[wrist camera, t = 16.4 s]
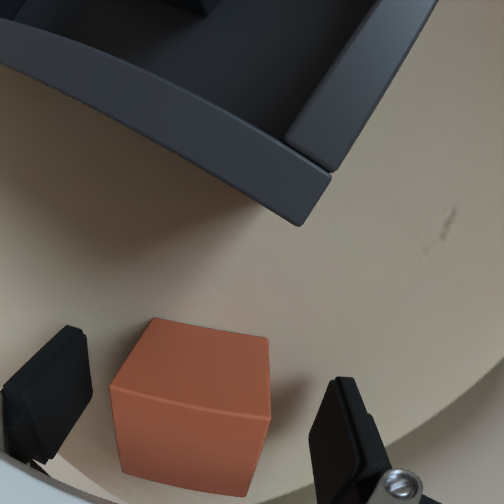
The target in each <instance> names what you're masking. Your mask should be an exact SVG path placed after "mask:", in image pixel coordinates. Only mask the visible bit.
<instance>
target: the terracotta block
mask: <svg viewBox="0 0 504 504" xmlns="http://www.w3.org/2000/svg"><path fill="white" fill-rule="evenodd" d="M109 393H110V401H111V409H112V416H113V423H114V429H115V436H116V441H117V447H118V452H119V458H120V463H121V468H122V472H123V473H126V474H129V475H132V476H136V477H139V478H143V479H147V480H150V481H154V482H158V483H162V484H167V485H171V486H175V487H180V488H185V489H190V490H195V491H201V492H207V493H213V494H220V495H227V496H235V497H246V495H247V492H248V489H249V486H250V484H251V481H252V478H253V475H254V472H255V469H256V466H257V463H258V460H259V457H260V454H261V450H262V447H263V444H264V441H265V438H266V435H267V431H268V428H269V425H270V422H271V395H270V368H269V342H268V338H265V337H258V336H251V335H245V334H239V333H233V332H227V331H221V330H215V329H210V328H204V327H199V326H194V325H188V324H183V323H178V322H173V321H169V320H164V319H159V318H153V319H152V321H151V322H150V324H149V325H148V327H147V328H146V330H145V331H144V333H143V334H142V336H141V337H140V339H139V340H138V342H137V343H136V345H135V346H134V348H133V349H132V351H131V352H130V354H129V355H128V357H127V358H126V360H125V362H124V363H123V365H122V366H121V368H120V369H119V371H118V372H117V374H116V375H115V377H114V379H113V380H112V382H111V383H110V385H109Z"/></svg>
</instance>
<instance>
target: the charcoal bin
mask: <svg viewBox="0 0 504 504" xmlns="http://www.w3.org/2000/svg"><path fill="white" fill-rule="evenodd" d="M438 1H439V0H220V1H219V3H218V4H217V5H216V6H215V7H214V9H213V10H212V11H211V12H210V14H209V15H208V16H207V17H203V16H201V15H198V14H196V13H193V12H190V11H188V10H185V9H182V8H180V7H177V6H174V5H171V4H168V3H165V2H162V1H159V0H0V64H2V65H5V66H7V67H9V68H11V69H13V70H15V71H17V72H19V73H22V74H24V75H26V76H28V77H30V78H32V79H34V80H36V81H38V82H40V83H42V84H44V85H46V86H48V87H50V88H52V89H54V90H56V91H58V92H60V93H62V94H64V95H66V96H68V97H70V98H72V99H74V100H76V101H78V102H80V103H82V104H84V105H86V106H88V107H90V108H92V109H94V110H96V111H97V112H99V113H101V114H103V115H105V116H107V117H109V118H111V119H113V120H114V121H116V122H118V123H120V124H122V125H124V126H126V127H127V128H129V129H131V130H133V131H135V132H137V133H138V134H140V135H142V136H144V137H146V138H148V139H149V140H151V141H153V142H155V143H157V144H158V145H160V146H162V147H164V148H165V149H167V150H169V151H171V152H172V153H174V154H176V155H178V156H180V157H181V158H183V159H185V160H187V161H188V162H190V163H192V164H193V165H195V166H197V167H199V168H200V169H202V170H204V171H206V172H207V173H209V174H211V175H212V176H214V177H216V178H217V179H219V180H221V181H222V182H224V183H226V184H228V185H229V186H231V187H233V188H234V189H236V190H238V191H239V192H241V193H243V194H244V195H246V196H248V197H249V198H251V199H252V200H254V201H256V202H257V203H259V204H261V205H262V206H264V207H266V208H267V209H269V210H270V211H272V212H274V213H275V214H277V215H278V216H280V217H282V218H283V219H285V220H286V221H288V222H290V223H291V224H293V225H294V226H297V227H300V226H301V225H303V224H304V222H305V220H306V219H307V217H308V216H309V214H310V213H311V211H312V210H313V208H314V207H315V205H316V203H317V202H318V200H319V199H320V197H321V196H322V194H323V192H324V191H325V189H326V188H327V186H328V185H329V183H330V181H331V178H332V176H331V175H330V173H333V172H335V171H336V170H338V168H339V166H340V165H341V163H342V162H343V160H344V158H345V157H346V155H347V154H348V152H349V150H350V149H351V147H352V146H353V144H354V142H355V141H356V139H357V138H358V136H359V134H360V133H361V131H362V129H363V128H364V126H365V125H366V123H367V121H368V120H369V118H370V116H371V115H372V113H373V111H374V110H375V108H376V107H377V105H378V103H379V102H380V100H381V98H382V97H383V95H384V93H385V92H386V90H387V88H388V87H389V85H390V83H391V82H392V80H393V78H394V77H395V75H396V73H397V72H398V70H399V68H400V67H401V65H402V63H403V61H404V60H405V58H406V56H407V55H408V53H409V51H410V50H411V48H412V46H413V44H414V43H415V41H416V39H417V37H418V36H419V34H420V32H421V31H422V29H423V27H424V25H425V24H426V22H427V20H428V18H429V17H430V15H431V13H432V11H433V9H434V8H435V6H436V4H437V2H438Z"/></svg>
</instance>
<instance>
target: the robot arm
mask: <svg viewBox="0 0 504 504" xmlns="http://www.w3.org/2000/svg"><path fill="white" fill-rule="evenodd" d="M3 387H4V388H3V389H2V390H1V391H0V504H117V503H114V502H111V501H108V500H105V499H103V498H100V497H97V496H94V495H92V494H89V493H86V492H84V491H81V490H79V489H76V488H74V487H72V486H69V485H67V484H65V483H62V482H60V481H58V480H56V479H54V478H52V477H49V476H47V475H45V474H43V473H41V472H39V471H37V470H35V469H33V468H31V467H30V462H31V461H32V459H34V460H36V461H38V462H40V463H42V464H44V465H45V464H46V463H47V461H48V459H53V458H54V457H55V455H56V453H57V452H58V450H59V449H60V447H61V445H62V444H63V442H64V441H65V439H66V437H67V436H68V434H69V433H70V431H71V430H72V428H73V426H74V425H75V423H76V422H77V420H78V419H79V417H80V416H81V414H82V412H83V411H84V409H85V408H86V406H87V405H88V403H89V402H90V400H91V398H92V395H93V388H92V381H91V374H90V366H89V357H88V348H87V338H86V335H85V334H83V331H82V330H81V329H79V328H76V327H72V326H69V325H66V326H65V327H64V328H63V329H62V330H61V331H59V332H58V333H57V334H56V335H55V336H54V337H53V338H52V339H51V340H50V341H49V342H48V343H46V344H45V345H44V346H43V347H42V348H41V349H40V350H39V351H38V352H37V353H36V354H35V355H34V356H33V357H32V358H31V359H30V360H29V361H28V362H26V363H25V364H24V365H23V366H22V367H21V368H20V369H19V370H18V371H17V372H16V373H15V374H14V375H13V376H12V377H11V378H10V379H9V380H8V381H7V382H6V383H5V384H4V385H3ZM308 440H309V448H310V455H311V461H312V468H313V475H314V483H315V490H316V497H317V504H441V503H439V502H437V501H435V500H433V499H431V498H429V497H427V496H425V495H423V494H422V493H423V484H422V481H421V480H420V478H419V477H418V476H417V475H416V474H415V473H413V472H411V471H410V470H407V469H403V468H395V469H392V466H391V464H390V461H389V458H388V456H387V453H386V450H385V448H384V445H383V442H382V440H381V437H380V435H379V432H378V429H377V427H376V424H375V422H374V419H373V417H372V415H370V414H368V413H367V411H366V408H365V406H364V403H363V400H362V398H361V395H360V393H359V390H358V388H357V385H356V383H355V380H354V378H352V377H339V376H338V377H336V378H335V380H331V381H330V382H329V384H328V387H327V390H326V392H325V395H324V398H323V400H322V403H321V405H320V408H319V410H318V413H317V415H316V418H315V420H314V423H313V425H312V428H311V430H310V433H309V439H308Z"/></svg>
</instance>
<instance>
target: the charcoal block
mask: <svg viewBox="0 0 504 504" xmlns="http://www.w3.org/2000/svg"><path fill="white" fill-rule="evenodd" d="M159 1H162V2H165V3H168V4H171V5H174V6H177V7H180V8H182V9H185V10H188V11H190V12H193V13H196V14H198V15H201V16H203V17H207V16H208V15H209V14H210V12H211V11H212V10H213V9H214V7H215V6H216V5H217V4H218V3H219V1H220V0H159Z"/></svg>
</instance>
